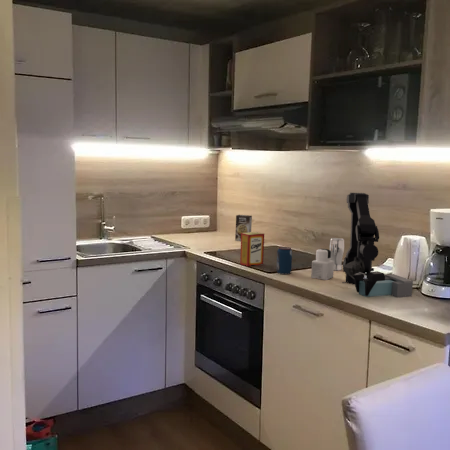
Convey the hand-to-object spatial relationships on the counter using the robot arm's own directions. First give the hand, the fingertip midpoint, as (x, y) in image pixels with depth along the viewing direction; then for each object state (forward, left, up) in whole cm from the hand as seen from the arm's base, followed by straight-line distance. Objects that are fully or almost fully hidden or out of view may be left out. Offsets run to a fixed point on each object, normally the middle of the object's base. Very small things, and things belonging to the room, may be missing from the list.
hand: (362, 294), depth 212 cm
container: (-36, +3, -2) cm, 36 cm away
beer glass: (-50, +19, -2) cm, 53 cm away
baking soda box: (-70, -17, -2) cm, 72 cm away
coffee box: (-141, +7, -2) cm, 141 cm away
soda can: (-48, -10, -2) cm, 49 cm away
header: (0, +15, -2) cm, 15 cm away
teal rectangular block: (0, +7, -1) cm, 7 cm away
